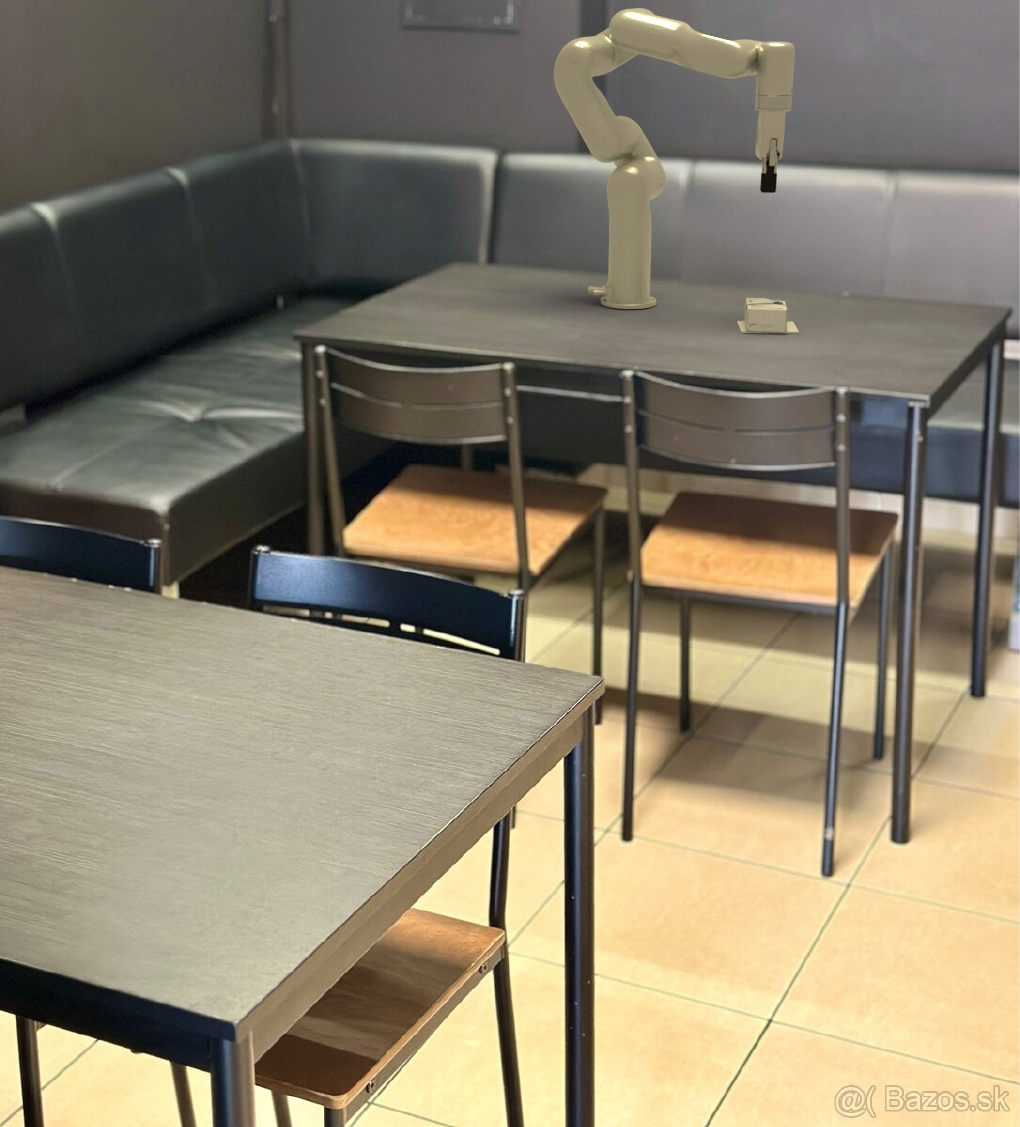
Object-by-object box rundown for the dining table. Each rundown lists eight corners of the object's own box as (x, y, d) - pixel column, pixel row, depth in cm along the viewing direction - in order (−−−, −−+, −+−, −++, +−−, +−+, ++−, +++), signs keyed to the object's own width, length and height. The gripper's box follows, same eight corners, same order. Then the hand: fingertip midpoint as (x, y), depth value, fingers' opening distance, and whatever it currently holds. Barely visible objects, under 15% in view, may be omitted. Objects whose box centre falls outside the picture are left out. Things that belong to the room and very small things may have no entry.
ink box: (785, 297, 342) (788, 309, 331) (783, 320, 344) (787, 332, 333) (745, 296, 343) (747, 308, 332) (744, 319, 345) (746, 332, 334)
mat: (741, 333, 335) (741, 331, 334) (737, 322, 344) (737, 321, 344) (798, 333, 334) (798, 331, 334) (792, 323, 343) (793, 321, 343)
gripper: (752, 100, 341) (747, 187, 347) (759, 106, 327) (753, 197, 334) (787, 100, 341) (781, 187, 347) (795, 106, 327) (789, 197, 333)
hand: (767, 191), depth 340 cm, fingers closed
